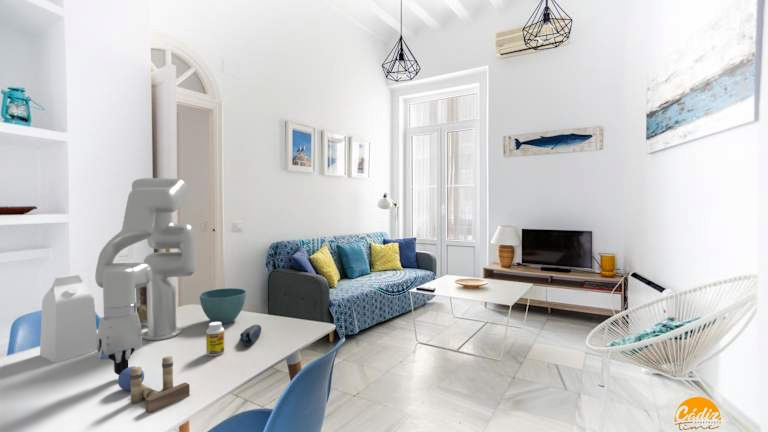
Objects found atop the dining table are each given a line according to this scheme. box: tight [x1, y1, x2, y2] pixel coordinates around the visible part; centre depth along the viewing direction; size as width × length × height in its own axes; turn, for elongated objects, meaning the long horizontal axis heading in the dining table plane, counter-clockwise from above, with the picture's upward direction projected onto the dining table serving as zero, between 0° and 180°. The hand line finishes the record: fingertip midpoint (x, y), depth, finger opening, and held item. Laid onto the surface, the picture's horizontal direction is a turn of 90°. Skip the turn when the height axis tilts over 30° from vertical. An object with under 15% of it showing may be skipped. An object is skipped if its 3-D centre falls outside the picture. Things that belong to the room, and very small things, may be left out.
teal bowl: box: [199, 287, 247, 325], centre depth 164 cm, size 18×18×12 cm
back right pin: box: [130, 366, 143, 405], centre depth 98 cm, size 3×3×8 cm
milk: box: [39, 274, 98, 363], centre depth 130 cm, size 12×12×26 cm
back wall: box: [144, 382, 191, 414], centre depth 98 cm, size 2×10×3 cm, turn 148°
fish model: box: [240, 324, 262, 347], centre depth 144 cm, size 7×21×5 cm, turn 9°
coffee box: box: [135, 285, 148, 326], centre depth 161 cm, size 9×6×16 cm
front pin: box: [142, 383, 160, 399], centre depth 100 cm, size 3×3×8 cm
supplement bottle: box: [205, 321, 225, 357], centre depth 130 cm, size 6×6×10 cm
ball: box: [117, 366, 145, 391], centre depth 105 cm, size 6×6×6 cm
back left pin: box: [161, 356, 174, 391], centre depth 105 cm, size 3×3×8 cm
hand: (121, 373), depth 111 cm, fingers closed
